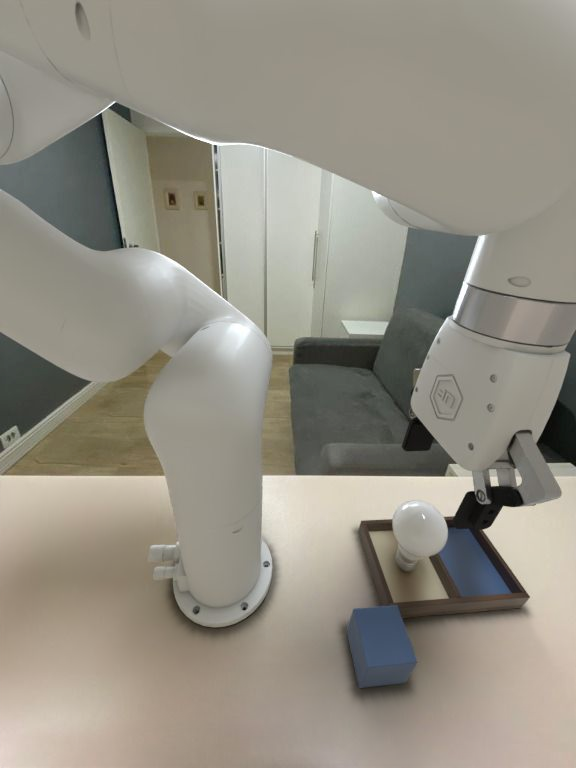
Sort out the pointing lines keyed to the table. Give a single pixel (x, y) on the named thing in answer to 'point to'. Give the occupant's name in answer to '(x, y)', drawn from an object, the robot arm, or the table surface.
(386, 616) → the block
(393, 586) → the sorting tray
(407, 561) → the lightbulb
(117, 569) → the table surface
